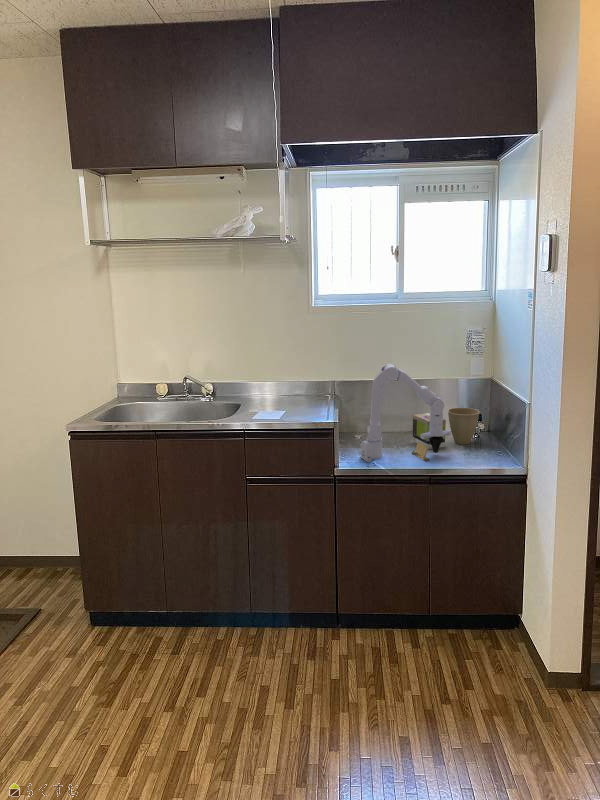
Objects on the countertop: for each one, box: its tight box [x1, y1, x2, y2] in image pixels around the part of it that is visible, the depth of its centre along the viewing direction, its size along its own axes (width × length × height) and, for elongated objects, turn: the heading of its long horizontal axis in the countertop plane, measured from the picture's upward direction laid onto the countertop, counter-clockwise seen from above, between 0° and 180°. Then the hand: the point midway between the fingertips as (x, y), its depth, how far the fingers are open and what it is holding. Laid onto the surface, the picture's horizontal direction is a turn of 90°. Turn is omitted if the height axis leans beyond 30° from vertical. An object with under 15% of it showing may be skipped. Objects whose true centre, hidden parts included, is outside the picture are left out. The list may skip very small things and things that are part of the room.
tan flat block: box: [413, 442, 429, 461], centre depth 274 cm, size 7×8×2 cm
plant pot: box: [447, 407, 480, 445], centre depth 296 cm, size 15×15×16 cm
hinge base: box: [411, 450, 431, 463], centre depth 276 cm, size 10×12×2 cm
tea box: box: [412, 412, 447, 450], centre depth 293 cm, size 15×10×15 cm, turn 18°
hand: (435, 452), depth 277 cm, fingers closed
